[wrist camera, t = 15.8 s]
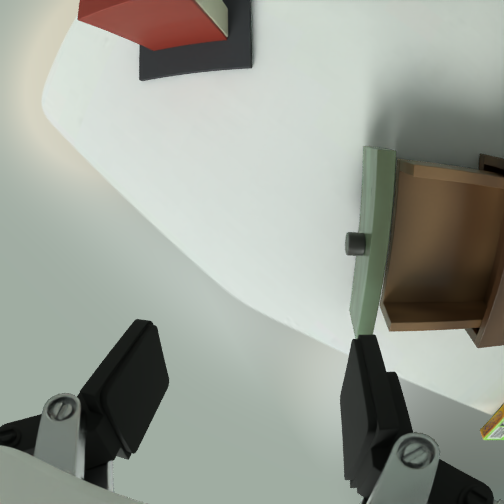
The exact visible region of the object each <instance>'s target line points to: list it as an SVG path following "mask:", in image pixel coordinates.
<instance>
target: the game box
mask: <svg viewBox="0 0 504 504" xmlns="http://www.w3.org/2000/svg"><path fill="white" fill-rule="evenodd" d="M480 431H481V434H482V437H483V440H504V404H503V406H502V407H501V408H500V409H499V410H498V411H497V412H496V413H495V415H494V416H493V417H492V418H491V419H490V420H489V421H488V422H487V423H486V424H485V425H484V426H483V428H481V429H480Z"/></svg>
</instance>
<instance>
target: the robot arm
mask: <svg viewBox="0 0 504 504" xmlns="http://www.w3.org/2000/svg"><path fill="white" fill-rule="evenodd" d="M168 385H169V377H168V373H167V369H166V364H165V360H164V356H163V352H162V347H161V343H160V338H159V334H158V329H157V327H156V326H155V325H153V323H152V322H151V321H147V320H139V319H136V320H135V321H134V322H133V323H132V325H131V326H130V327H129V328H128V330H127V331H126V332H125V333H124V335H123V336H122V337H121V338H120V340H119V341H118V342H117V344H116V345H115V346H114V347H113V349H112V350H111V351H110V352H109V354H108V355H107V356H106V358H105V359H104V360H103V361H102V363H101V364H100V365H99V367H98V368H97V369H96V371H95V372H94V373H93V375H92V376H91V377H90V379H89V380H88V381H87V382H86V384H85V385H84V386H83V388H82V389H81V391H80V393H79V395H78V396H77V397H76V396H75V395H73V394H69V393H62V394H58V395H55V396H53V397H52V398H50V399H49V400H48V401H47V402H46V404H45V405H44V408H43V411H42V414H40V415H37V416H33V417H29V418H26V419H22V420H18V421H14V422H11V423H7V424H4V425H2V426H1V427H0V504H146V503H143V502H140V501H137V500H134V499H131V498H128V497H125V496H122V495H119V494H117V493H114V483H113V460H114V459H115V457H116V456H118V457H121V458H124V459H129V458H130V456H131V453H135V452H136V451H137V450H138V447H139V445H140V443H141V441H142V439H143V437H144V435H145V433H146V431H147V429H148V427H149V424H150V423H151V421H152V419H153V417H154V415H155V412H156V411H157V409H158V407H159V405H160V402H161V400H162V398H163V396H164V394H165V392H166V390H167V388H168ZM340 406H341V420H342V435H343V454H344V477H345V480H350V488H357V493H359V494H360V495H361V496H363V498H362V500H361V502H360V504H504V501H503V500H501V499H500V500H499V501H496V500H494V497H493V493H492V491H491V489H490V488H489V487H488V486H487V485H486V484H484V483H483V482H481V481H479V480H477V479H475V478H473V477H471V476H469V475H467V474H465V473H464V472H462V471H460V470H458V469H456V468H454V467H453V466H451V465H449V464H447V463H446V462H444V461H442V460H440V459H439V458H440V449H439V446H438V444H437V443H436V442H435V440H434V439H433V438H431V437H430V436H428V435H426V434H423V433H417V432H414V433H413V430H412V426H411V422H410V418H409V414H408V411H407V407H406V403H405V400H404V396H403V393H402V389H401V386H400V382H399V379H398V376H397V374H396V373H395V372H386V369H385V366H384V362H383V358H382V355H381V351H380V348H379V345H378V341H377V338H376V335H359V336H358V339H353V340H352V343H351V348H350V353H349V358H348V364H347V368H346V373H345V377H344V382H343V386H342V391H341V395H340Z"/></svg>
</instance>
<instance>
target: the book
mask: <svg viewBox="0 0 504 504" xmlns="http://www.w3.org/2000/svg"><path fill="white" fill-rule="evenodd" d="M78 20H79V21H82V22H85V23H88V24H90V25H93V26H96V27H98V28H101V29H104V30H106V31H109V32H111V33H114V34H116V35H119V36H121V37H123V38H126V39H128V40H131V41H133V42H135V43H137V44H140V45H142V46H144V47H146V48H149V49H151V50H153V51H156V50H161V49H166V48H172V47H177V46H184V45H190V44H197V43H205V42H213V41H222V40H227V37H228V8H227V7H226V5H225V4H224V2H223V1H222V0H80V3H79V11H78Z"/></svg>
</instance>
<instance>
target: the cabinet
mask: <svg viewBox="0 0 504 504" xmlns="http://www.w3.org/2000/svg"><path fill="white" fill-rule="evenodd" d="M479 170H484V171H489V172H495V173H500V174H504V158H499V157H495V156H490V155H485V154H480V158H479ZM465 330H466V331H467V333H468V334H469V336H470V337H471V339H472V341H473V342H474V344H475V345H476V347H477V348H483V347H492V346H500V345H504V247H503V251H502V255H501V260H500V264H499V268H498V272H497V275H496V279H495V283H494V286H493V289H492V293H491V296H490V299H489V302H488V306H487V309H486V312H485V315H484V317H483V320H482V323H481V326H480V327H479V328H465Z"/></svg>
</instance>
